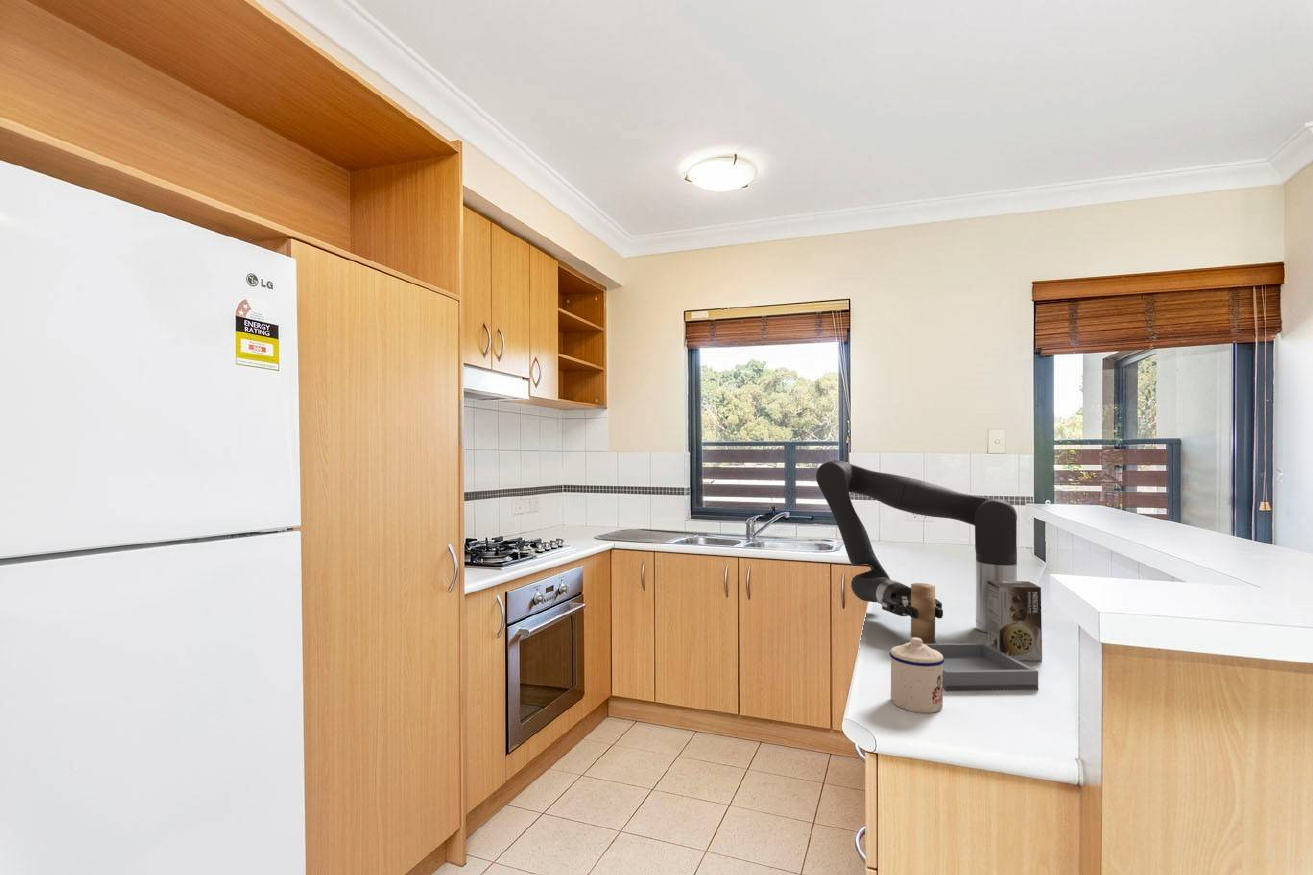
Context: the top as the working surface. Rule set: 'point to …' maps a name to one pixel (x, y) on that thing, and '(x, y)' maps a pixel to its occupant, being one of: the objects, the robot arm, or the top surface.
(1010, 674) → the bin
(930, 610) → the oak cylinder
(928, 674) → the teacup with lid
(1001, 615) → the coffee box
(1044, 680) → the top surface
